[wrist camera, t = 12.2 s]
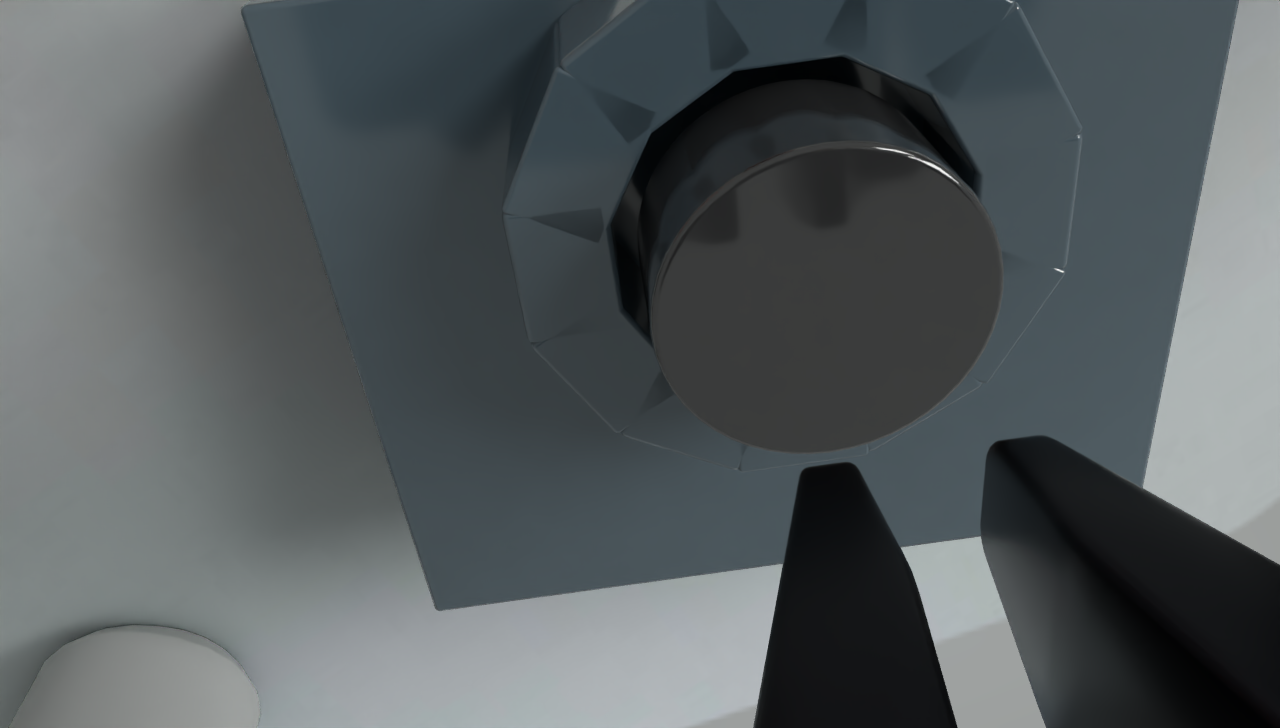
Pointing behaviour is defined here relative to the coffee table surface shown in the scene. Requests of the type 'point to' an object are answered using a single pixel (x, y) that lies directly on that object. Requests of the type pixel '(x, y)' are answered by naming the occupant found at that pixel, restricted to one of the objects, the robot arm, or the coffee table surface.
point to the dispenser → (610, 270)
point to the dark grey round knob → (814, 269)
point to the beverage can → (140, 683)
